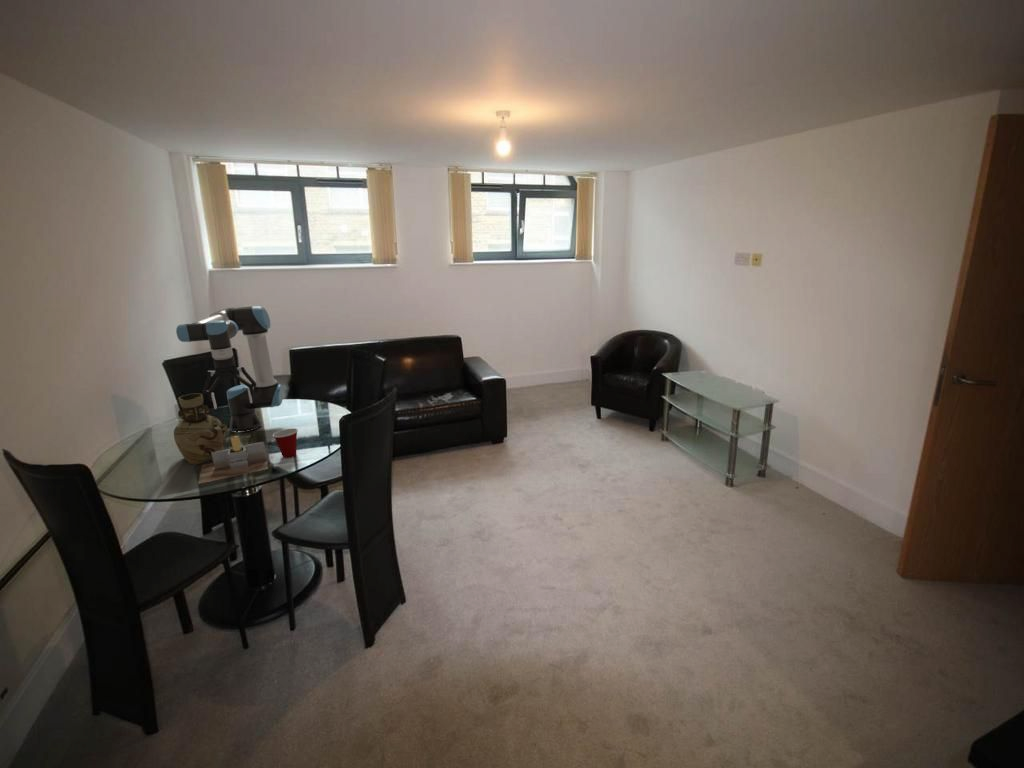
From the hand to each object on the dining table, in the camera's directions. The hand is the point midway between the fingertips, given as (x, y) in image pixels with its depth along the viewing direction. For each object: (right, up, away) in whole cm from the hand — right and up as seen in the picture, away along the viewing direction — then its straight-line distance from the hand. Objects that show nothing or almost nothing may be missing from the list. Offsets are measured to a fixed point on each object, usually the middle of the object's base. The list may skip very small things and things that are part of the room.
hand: (233, 405), depth 211 cm
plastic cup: (+17, -24, +16) cm, 34 cm away
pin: (+1, -27, +4) cm, 27 cm away
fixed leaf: (+4, -27, +5) cm, 27 cm away
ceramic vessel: (-23, -25, +17) cm, 38 cm away
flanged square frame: (-2, -27, +2) cm, 28 cm away
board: (-1, -28, +3) cm, 29 cm away
